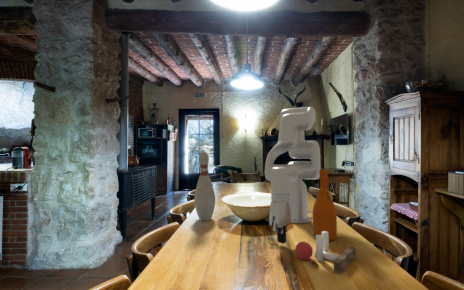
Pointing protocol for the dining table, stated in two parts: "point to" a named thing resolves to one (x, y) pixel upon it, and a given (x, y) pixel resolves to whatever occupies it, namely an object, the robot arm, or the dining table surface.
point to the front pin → (328, 255)
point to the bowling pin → (204, 191)
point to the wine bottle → (324, 210)
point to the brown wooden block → (344, 259)
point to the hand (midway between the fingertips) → (281, 242)
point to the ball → (304, 250)
